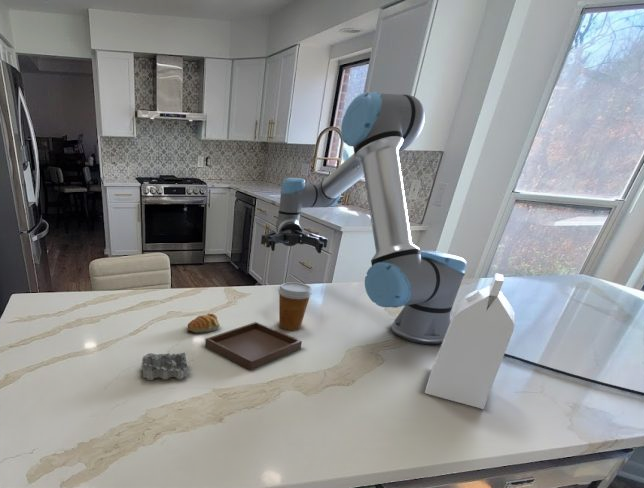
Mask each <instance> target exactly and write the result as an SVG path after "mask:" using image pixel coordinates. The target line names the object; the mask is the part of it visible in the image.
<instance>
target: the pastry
mask: <svg viewBox="0 0 644 488" xmlns="http://www.w3.org/2000/svg"><path fill="white" fill-rule="evenodd" d="M220 325H221V324H220V322H219V319H218V316H217V315H215V314H214V313H207V314H202V315H199V316H197V317H195V318H194V319H192V320H191V321H189V323H187V328H186V329H187V330H188V331H190V332H193V333H196V334H201V333H208V332H209V333H210V332H213V331H217V330H218V329H219V328H220Z"/></svg>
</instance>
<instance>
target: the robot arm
mask: <svg viewBox="0 0 644 488" xmlns="http://www.w3.org/2000/svg"><path fill="white" fill-rule="evenodd" d="M425 121H426V112H425V108H424V106H423V104H422V102H421V101H420V100H419V99H418V98H417V97H415V96H414V95H410V94H398V93H397V94H396V93H381V92H379V91H373V92H362V93H360V94H359V95H357V96H356V97H354V99H353V100H352V101H351V102H350V104H349V105H348V106H347V108H346V110H345V113H344V114H343V118H342V121H341V126H340V135H341V140H342V142H343V143H344V144H346V145H347V146H348V147H353V154H352V155H350V157H348V158H347V159H346V160H345V161H344V162H343V163H341V164H340V165H339V166H338V167H337V168H336V169H334V170H333V171H332V172H331V173H330V174H328V175H327V176H326V177H325V178H324V179H323V180H322V181H320V182H319V183H306V180H305V179H304V178H300V177H286V178H284V179H283V180H282V184H281V188H280V200H279V208H278V214H277V220H276V222H275V229H276V231H275V230H273V229H272V230H270V232H269V231H268V232H267V233H264V234H262V235H261V239H260V245H266V248H270V249H271V251H273V252H274V251H275V249H276V247H275V246H276V244H283V245H284V246H287V247H293V246H297V244H298V245H308V246H311V247H314V249H315V250H316V252H317V253H318V254H322V249H326V248H328V241H329V239H328V238H326V237H324V236H323V235H322V236H320V235H318V234H315V233H314V232H309V233H308V234H307V232H303V229H302V227H301V225H300V217H301V212H302V209H306V208H308V209H309V208H329V207H334V206H336V205H337V204H338V202H339V200H340V199H341V195H342V194H344V192H346V191H347V190H348V189H350V188H351V187H352V186H354V185H355V184H356V183H357V182H359V181H360V180H361V179H362V178H363V179H364V183H365V191H366V197H367V203H368V209H369V216H370V222H371V229H372V235H373V236H372V237H373V241H374V242H373V243H374V248H375V254H374V255H373V257H372V258H371V260H370V264H371V266H370V267H369V268H368V270H367V271H366V275H365V277H364V289H365V293H366V295H367V297H368V298H369V299H370V301H371V302H372V303H374V304H375V305H376V306H378V307H381V308H394V309H395V308H399V307H403V308H402V309H401V311H400V312H399V313H398V315H397V316H396V318H395V319H394V321H393V322H392V326H391V332H392V333H393V334H394V335H396V336H397V337H398V338H401V339H403V340H405V341H409V342H411V343H416V344H421V345H431V346H432V345H436V346H437V345H442V342H443V340H444V337H445V335H446V332H447V330H448V327H449V324H450V322H451V312H452V309H453V306H454V304H455V301H456V298H457V295H458V292H459V289H460V286H461V284H462V281H463V279H464V276H465V274H466V273H465V272H466V269H467V265H468V262H467V261H466V260H465V259H464V258H463V257H461V256H457V255H453V254H450V253H445V252H440V251H436V250H435V251H434V250H421V249H420V247H418V246H417V245H415V244H414V243H413V242H412V236H411V235H412V234H411V230H410V229H411V228H410V222H409V215H408V209H407V208H408V207H407V202H406V196H405V195H406V194H405V190H404V189H405V188H404V182H403V175H402V171H401V170H402V169H401V168H402V167H401V163H400V156H399V155H400V154H401V153H402V152H404V151H405V150H406V149H407V148H409V147H410V146H411V145H412V144H413V143H414V142H415V141H416V140H417V139H418V137H419V136H420V134H421V132H422V130H423V128H424V125H425ZM504 357H506V358H508V359H513V360H515V361H519V362H523V363H524V364H525V363H526V364H528V365H532V366H534V367H538V368H540V369H543V370H547V371H550V372H553V373H557V374H559V375H564V376H567V377H571V378H575V379H577V380H581V381H585V382H587V383H588V382H589V383H593V384H595V385H599V386H603V387H607V388H610V389H614V390H618V391H622V392H627V393H631V394H635V395H638V396H643V397H644V392H643V391H640V390H635V389H631V388H626V387H623V386H619V385H614V384H611V383H606V382H603V381H599V380H595V379H592V378H588V377H584V376H581V375H577V374H574V373H570V372H567V371H564V370H560V369H557V368H554V367H550V366H547V365H544V364H541V363H537V362H535V361H531V360H528V359H525V358H522V357H518V356H516V355H512V354H508V353H505V354H504Z"/></svg>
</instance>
